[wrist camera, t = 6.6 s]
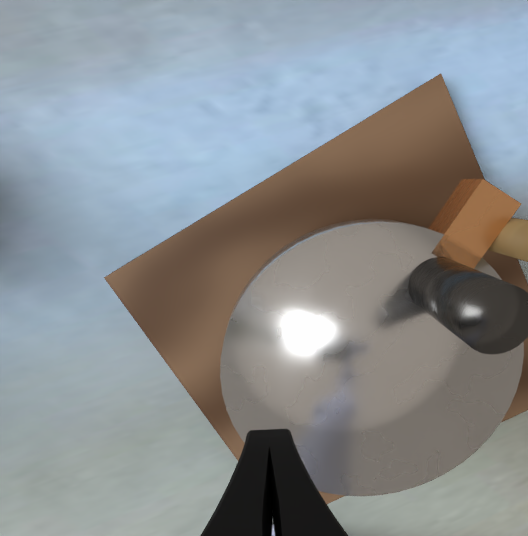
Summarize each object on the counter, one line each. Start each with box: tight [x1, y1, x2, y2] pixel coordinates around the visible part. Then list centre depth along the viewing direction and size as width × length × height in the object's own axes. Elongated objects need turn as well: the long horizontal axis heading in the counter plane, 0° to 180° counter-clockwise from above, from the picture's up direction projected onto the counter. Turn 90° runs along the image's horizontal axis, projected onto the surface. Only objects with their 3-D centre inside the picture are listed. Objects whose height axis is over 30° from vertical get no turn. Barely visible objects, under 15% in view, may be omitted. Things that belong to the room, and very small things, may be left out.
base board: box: [104, 74, 528, 504], centre depth 18 cm, size 20×20×6 cm
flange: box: [220, 179, 528, 496], centre depth 14 cm, size 16×14×6 cm
